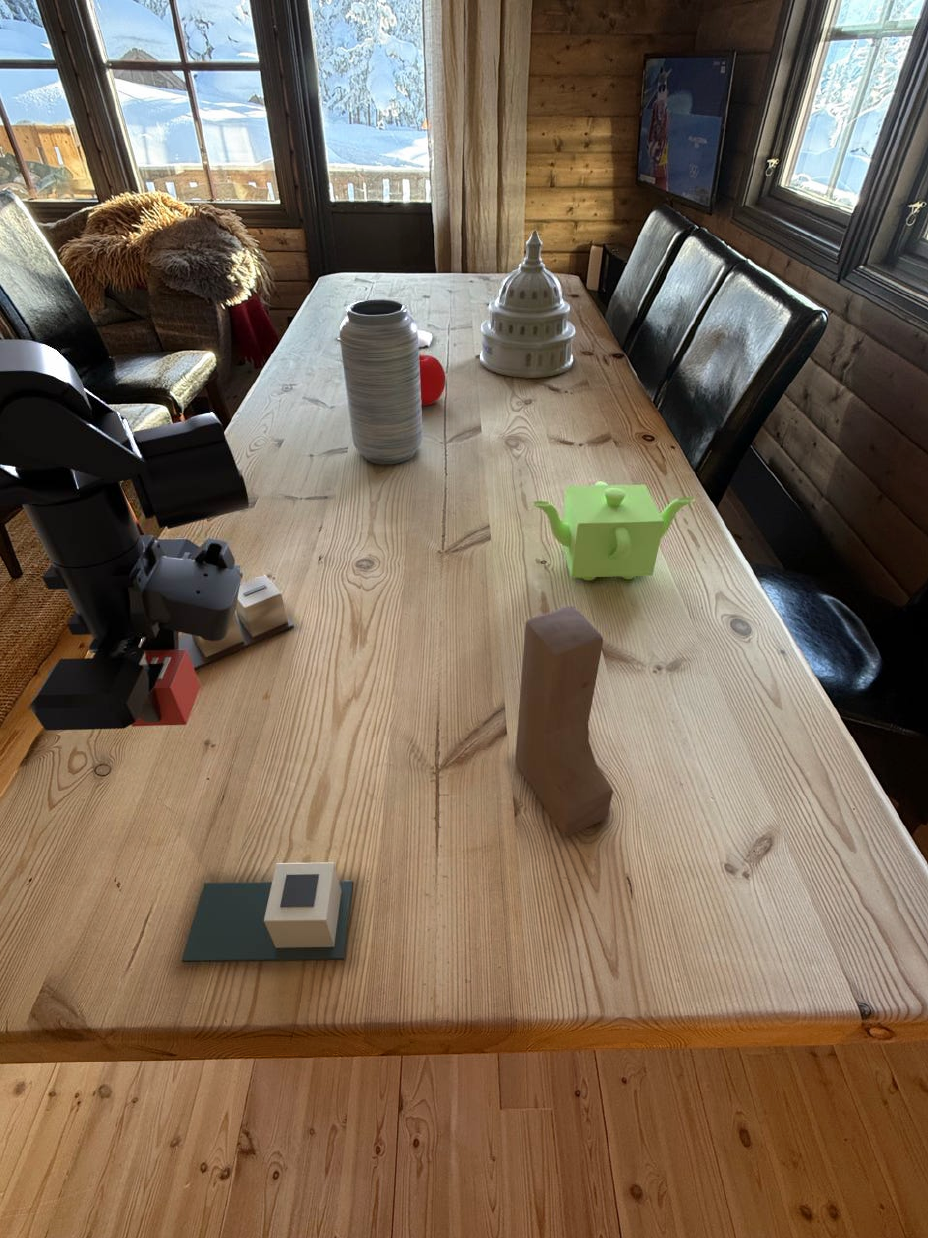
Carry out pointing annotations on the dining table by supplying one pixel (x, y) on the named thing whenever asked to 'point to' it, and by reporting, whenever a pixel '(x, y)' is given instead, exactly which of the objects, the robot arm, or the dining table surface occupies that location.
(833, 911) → the dining table surface
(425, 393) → the fruit
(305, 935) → the white cube on base
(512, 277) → the dome
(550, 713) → the wooden block
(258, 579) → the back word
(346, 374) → the vase
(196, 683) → the white-striped red block
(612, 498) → the teapot
